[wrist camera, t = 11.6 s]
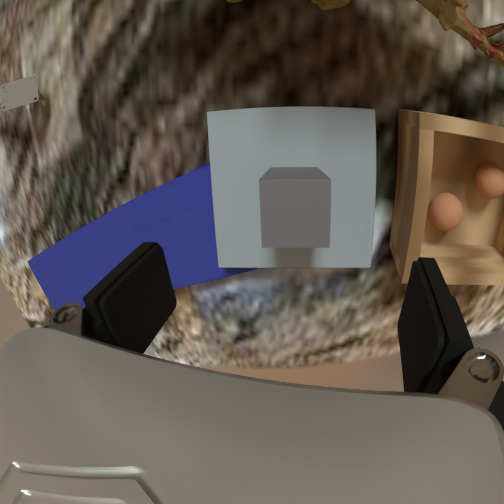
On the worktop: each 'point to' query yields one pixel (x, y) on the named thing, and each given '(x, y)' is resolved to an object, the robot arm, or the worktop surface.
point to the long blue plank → (139, 241)
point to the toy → (446, 23)
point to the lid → (293, 186)
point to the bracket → (18, 93)
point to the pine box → (454, 182)
